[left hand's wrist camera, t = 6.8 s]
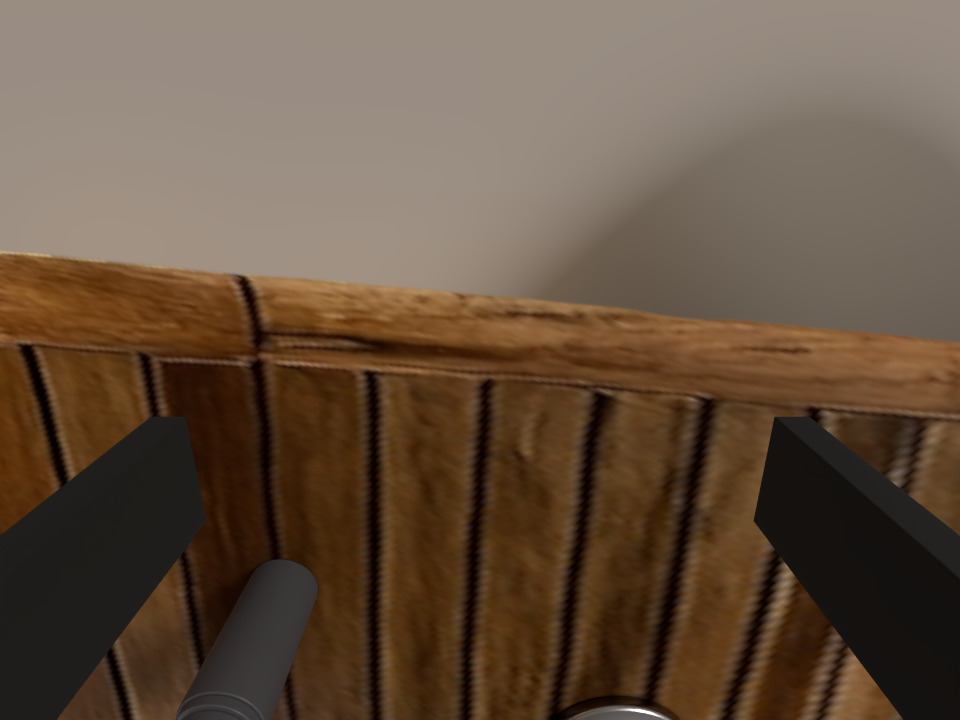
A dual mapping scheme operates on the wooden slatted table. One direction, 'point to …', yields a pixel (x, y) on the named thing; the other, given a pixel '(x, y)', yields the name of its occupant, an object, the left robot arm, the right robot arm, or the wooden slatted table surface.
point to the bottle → (254, 647)
